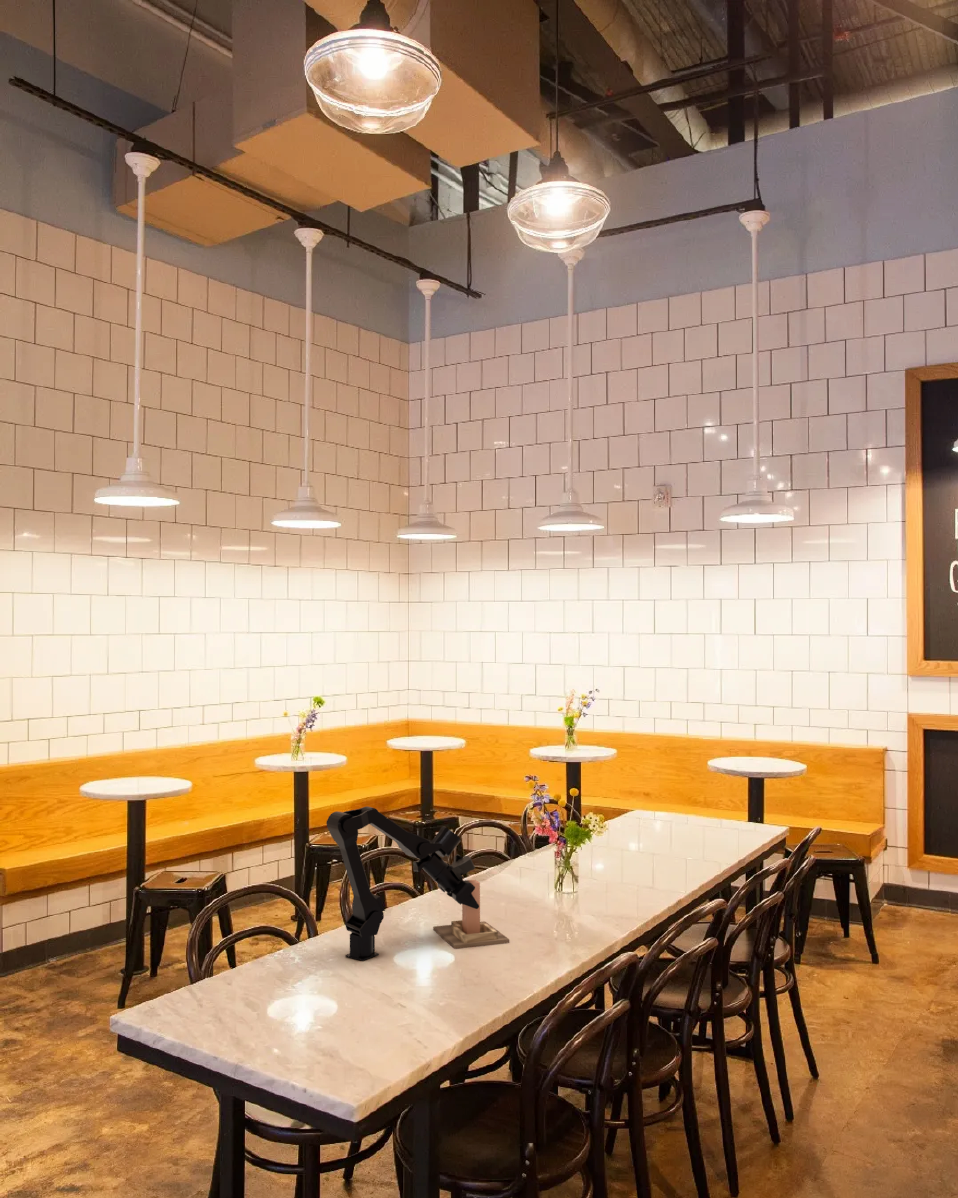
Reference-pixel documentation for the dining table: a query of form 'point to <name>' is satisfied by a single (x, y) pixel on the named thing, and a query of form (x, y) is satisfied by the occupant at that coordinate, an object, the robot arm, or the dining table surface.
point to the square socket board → (470, 935)
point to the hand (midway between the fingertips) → (475, 906)
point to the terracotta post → (472, 912)
